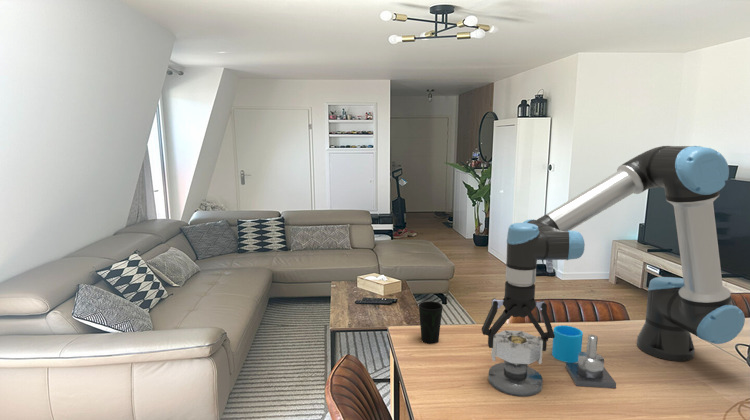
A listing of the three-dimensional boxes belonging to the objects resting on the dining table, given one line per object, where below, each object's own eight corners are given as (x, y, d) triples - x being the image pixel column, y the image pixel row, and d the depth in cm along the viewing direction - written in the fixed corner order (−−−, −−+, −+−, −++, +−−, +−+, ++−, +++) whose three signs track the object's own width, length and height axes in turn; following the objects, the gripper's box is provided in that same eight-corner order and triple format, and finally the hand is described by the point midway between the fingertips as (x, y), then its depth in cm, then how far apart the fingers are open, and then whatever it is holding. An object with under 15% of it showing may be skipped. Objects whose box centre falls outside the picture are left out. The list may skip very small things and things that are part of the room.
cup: (425, 333, 153) (426, 299, 151) (445, 339, 148) (446, 304, 146) (413, 341, 147) (414, 306, 145) (434, 347, 142) (435, 311, 140)
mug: (586, 362, 133) (588, 336, 131) (558, 363, 133) (560, 337, 131) (567, 344, 145) (569, 320, 143) (542, 344, 144) (544, 320, 143)
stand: (601, 369, 129) (605, 329, 127) (615, 388, 119) (619, 345, 117) (565, 367, 130) (568, 328, 128) (576, 385, 120) (579, 343, 118)
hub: (535, 370, 128) (538, 329, 126) (548, 398, 114) (551, 352, 112) (485, 367, 130) (487, 326, 128) (492, 394, 116) (493, 349, 114)
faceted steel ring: (533, 345, 126) (534, 331, 125) (542, 365, 115) (543, 350, 114) (492, 342, 127) (492, 329, 126) (498, 362, 116) (498, 347, 115)
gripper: (562, 279, 120) (557, 355, 123) (473, 276, 123) (470, 351, 126) (571, 288, 113) (565, 369, 116) (475, 284, 115) (472, 364, 119)
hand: (516, 360), depth 121 cm, fingers closed on faceted steel ring, 11 cm apart
